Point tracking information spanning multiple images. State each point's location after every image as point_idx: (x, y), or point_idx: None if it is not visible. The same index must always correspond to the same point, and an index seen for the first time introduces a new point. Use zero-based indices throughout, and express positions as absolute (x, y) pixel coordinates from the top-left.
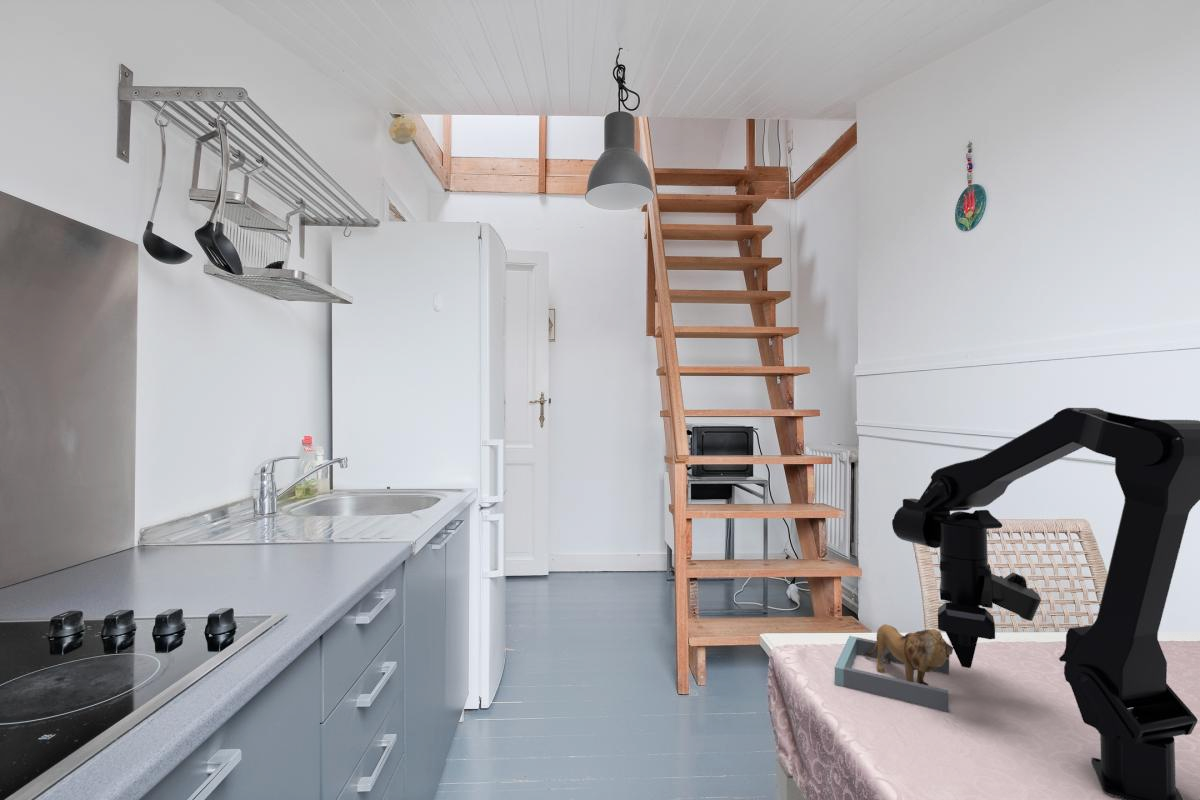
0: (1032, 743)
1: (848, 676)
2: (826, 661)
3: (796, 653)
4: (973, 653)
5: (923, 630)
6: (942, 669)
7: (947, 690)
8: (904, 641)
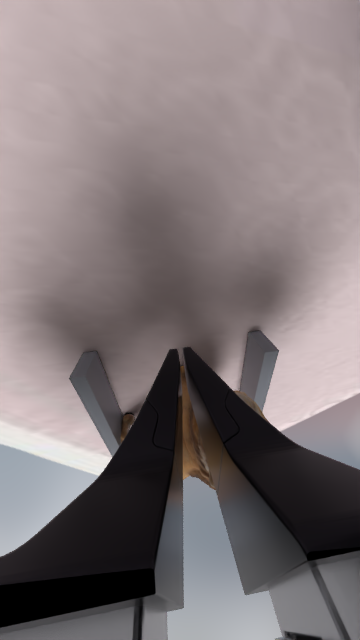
0: (329, 201)
1: None
2: None
3: None
4: (216, 374)
5: None
6: (97, 364)
7: (266, 353)
8: None
